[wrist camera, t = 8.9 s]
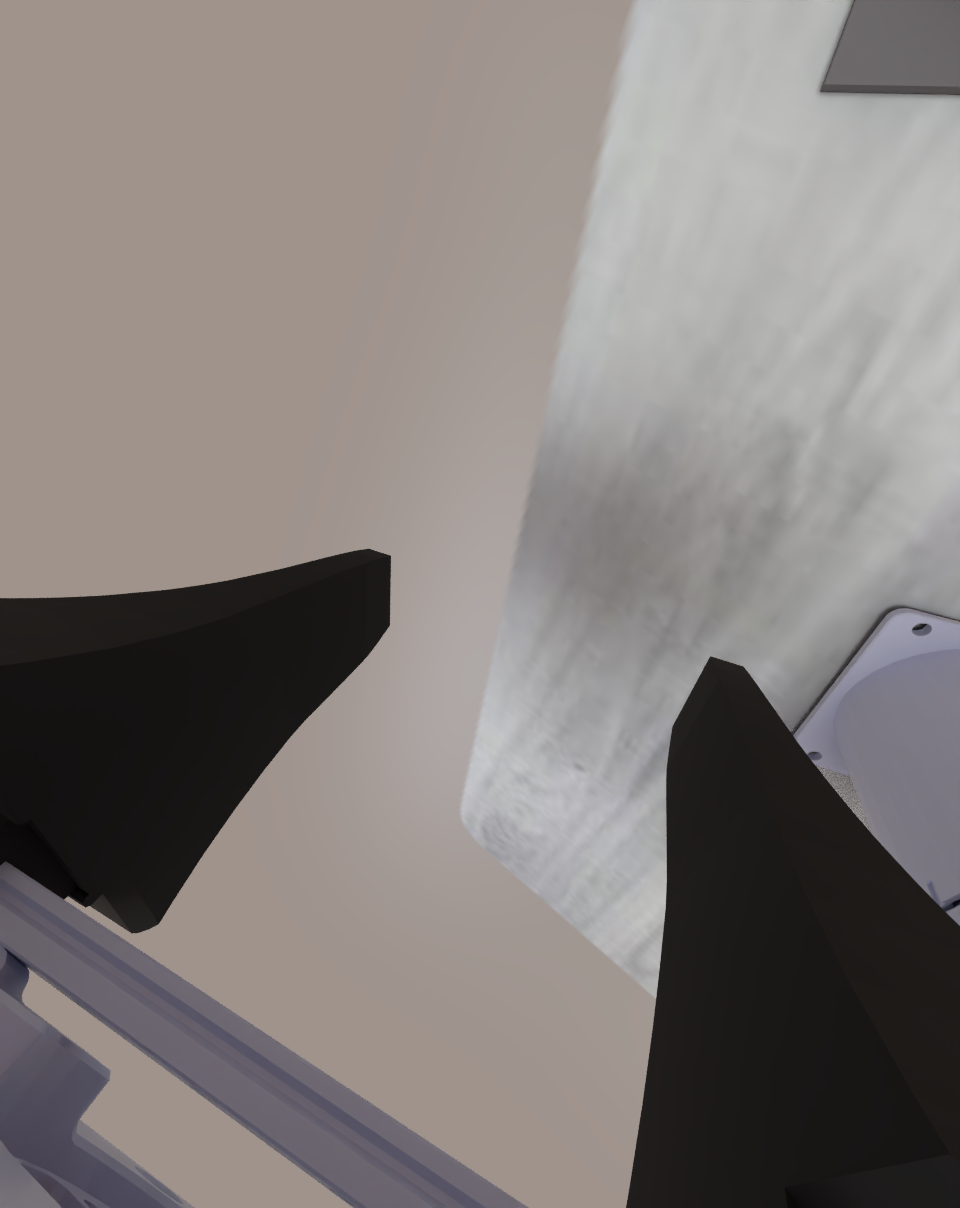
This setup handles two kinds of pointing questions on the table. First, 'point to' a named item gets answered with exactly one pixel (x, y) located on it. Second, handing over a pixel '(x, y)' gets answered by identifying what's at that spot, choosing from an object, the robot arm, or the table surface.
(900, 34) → the mat
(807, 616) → the table surface
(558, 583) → the table surface
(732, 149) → the table surface
